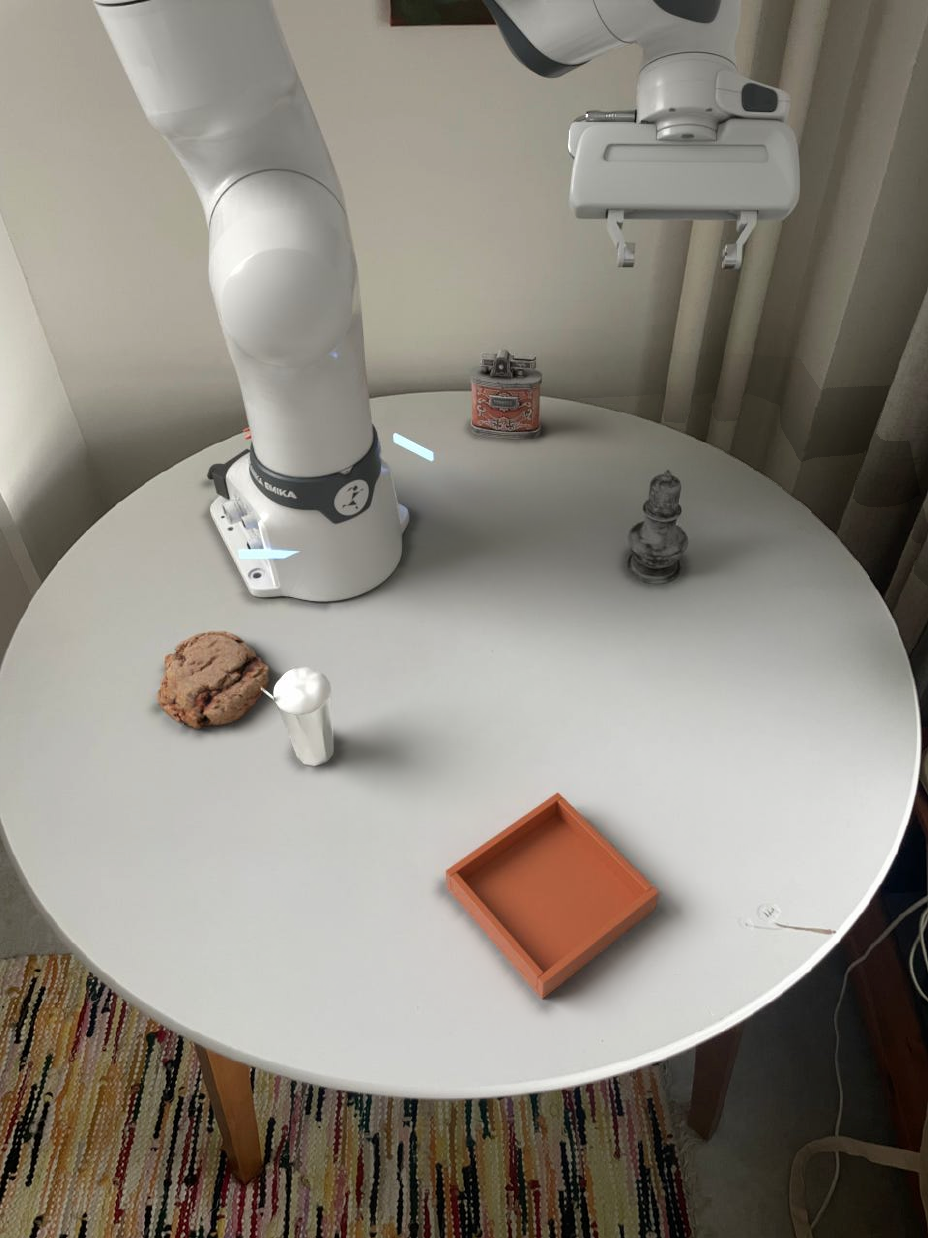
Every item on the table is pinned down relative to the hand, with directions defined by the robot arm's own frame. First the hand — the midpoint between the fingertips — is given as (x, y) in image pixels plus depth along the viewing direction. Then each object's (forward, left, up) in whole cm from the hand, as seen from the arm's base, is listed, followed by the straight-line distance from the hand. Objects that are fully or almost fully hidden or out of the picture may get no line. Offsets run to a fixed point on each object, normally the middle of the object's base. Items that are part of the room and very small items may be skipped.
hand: (678, 266), depth 93 cm
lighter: (-18, -5, -26) cm, 32 cm away
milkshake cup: (+7, -47, -26) cm, 54 cm away
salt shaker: (+9, -8, -26) cm, 28 cm away
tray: (+30, -40, -25) cm, 56 cm away
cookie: (-5, -50, -26) cm, 57 cm away
